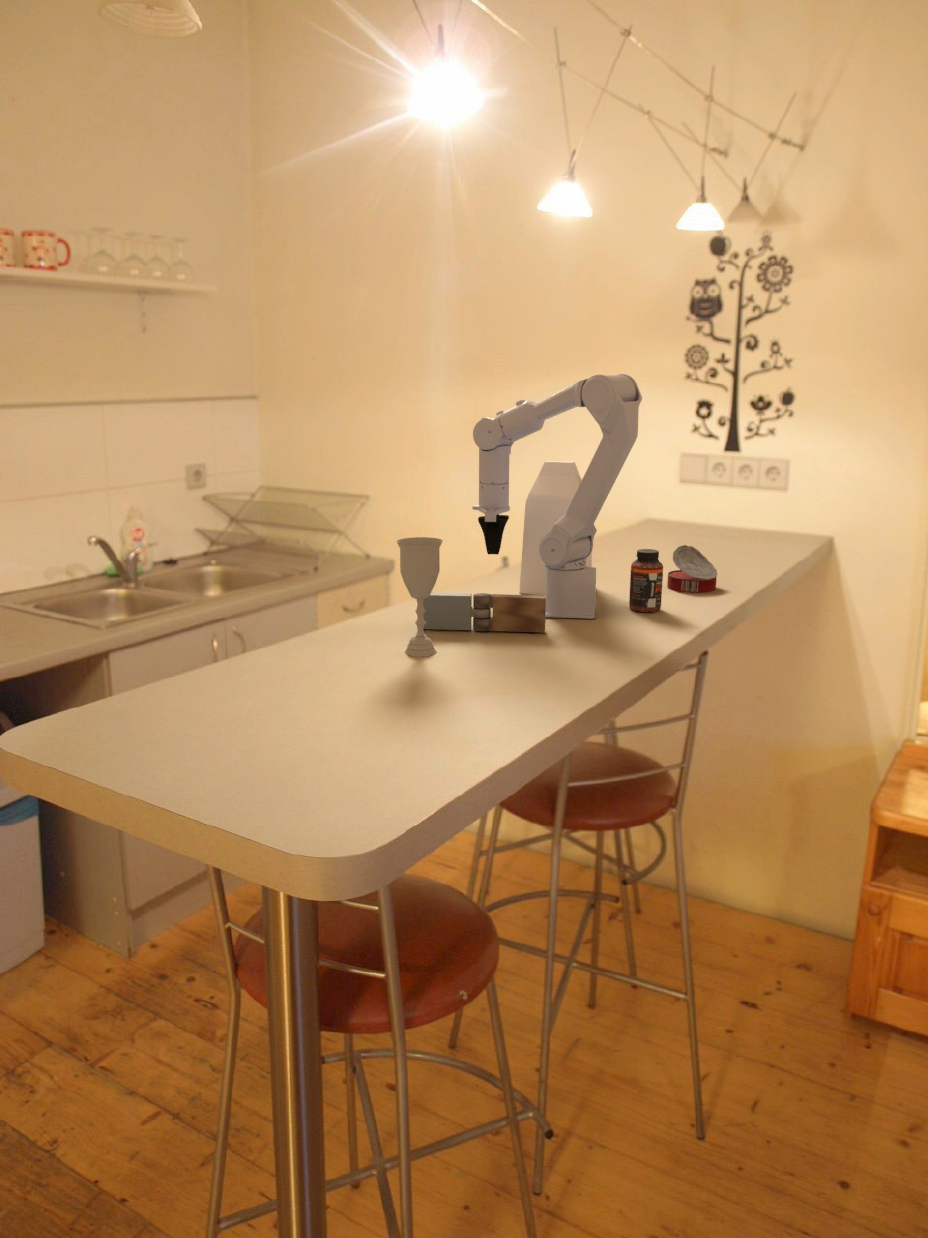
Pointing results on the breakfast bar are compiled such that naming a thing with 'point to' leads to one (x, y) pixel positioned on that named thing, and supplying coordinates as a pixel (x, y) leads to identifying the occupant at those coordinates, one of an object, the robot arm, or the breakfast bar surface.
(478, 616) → the swing leaf
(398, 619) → the breakfast bar surface
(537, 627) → the fixed leaf
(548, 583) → the robot arm
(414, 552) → the chalice
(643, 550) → the supplement bottle
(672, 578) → the canned food
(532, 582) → the milk
